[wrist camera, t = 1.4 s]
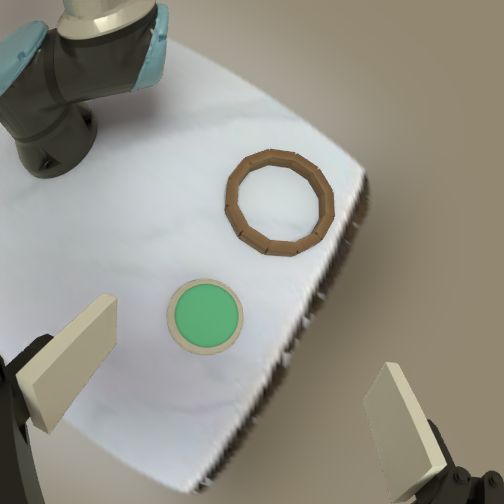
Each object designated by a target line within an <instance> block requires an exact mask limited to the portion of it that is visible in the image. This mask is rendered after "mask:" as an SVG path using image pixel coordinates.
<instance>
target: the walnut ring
mask: <svg viewBox="0 0 504 504" xmlns="http://www.w3.org/2000/svg"><path fill="white" fill-rule="evenodd" d="M267 165H272V166H279V167H287V168H290V169H292V170H293V171H295V172H297V173H298V174H300V175H301V176H303V177H304V178H306V179H307V180H308V181H309V183H310V185H311V186H312V188H313V190H314V191H315V193H316V195H317V196H318V198H319V221H318V222H317V224H316V226H315V228H314V229H313V231H312V233H311V234H310V235H308V236H306V237H304V238H302V239H300V240H298V241H296V242H288V241H276V240H270V239H268V238H267V237H265V236H264V235H262V234H261V233H259V232H258V231H256V230H255V229H253V228H252V227H250V226H249V225H248V223H247V221H246V219H245V217H244V216H243V214H242V212H241V210H240V208H239V206H238V204H237V201H238V186H239V185H240V183H241V182H242V181H243V179H244V178H245V177H246V176H247V174H248V173H249V172H251V171H254V170H256V169H259V168H262V167H264V166H267ZM317 169H318V167H317V166H316V165H314V164H313V163H311V162H310V161H308V160H307V159H305V158H304V157H302V156H301V155H299V154H298V153H297V154H296V155H295V152H289V151H282V150H275V149H270V151H269V149H267V150H264V151H261V152H258V153H256V154H253V155H250V156H247V157H245V158H244V159H243V160H242V161H241V163H240V164H239V165H238V166H237V168H236V169H235V170H234V171H233V173H232V174H231V175H230V176H229V179H228V182H227V188H226V201H225V211H226V212H225V214H226V215H227V217H228V219H229V221H230V223H231V225H232V227H233V229H234V231H235V233H236V235H237V237H239V236H240V237H239V239H241V240H242V241H244V242H245V243H247V244H248V245H250V246H251V247H253V248H254V249H256V250H257V251H259V252H260V253H262V254H263V253H264V252H265V255H275V256H289V257H292V256H295V255H297V254H299V253H301V252H303V251H305V250H307V249H309V248H310V247H312V246H314V245H316V244H318V243H319V242H320V241H322V240H323V238H324V237H325V235H326V233H327V231H328V229H329V227H330V226H331V224H332V222H333V220H334V217H335V209H334V193H333V192H332V191H333V190H332V188H331V186H330V185H329V183H328V181H327V180H326V178H325V176H324V175H323V173H322V172H321V170H320V169H318V170H317Z"/></svg>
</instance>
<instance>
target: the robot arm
mask: <svg viewBox="0 0 504 504" xmlns="http://www.w3.org/2000/svg"><path fill="white" fill-rule="evenodd" d="M63 4H64V7H65V11H64V12H63V14H62V15H61V17H60V19H59V20H58V22H57V28H55V29H52V30H48V25H46V24H45V23H44V22H43V21H33V22H30V23H27V24H25V25H23V26H22V27H20V28H18V29H17V30H15V31H13V32H12V33H11V34H9V35H8V36H7V37H6V38H5V39H3V40H2V41H1V42H0V122H1V124H2V125H3V126H4V127H5V128H6V130H7V131H8V132H9V133H10V134H11V135H12V137H13V138H14V139H15V143H16V147H17V150H18V154H19V157H20V160H21V162H22V164H23V166H24V167H25V168H26V169H27V170H28V171H29V172H30V173H31V174H32V175H34V176H36V177H39V178H52V177H56V176H59V175H61V174H64V173H65V172H67V171H69V170H70V169H72V168H73V167H74V166H76V165H77V164H78V163H79V162H80V161H81V160H82V159H83V158H84V157H85V155H86V154H87V153H88V151H89V150H90V148H91V146H92V144H93V142H94V140H95V137H96V132H97V124H96V120H95V117H94V115H93V113H92V111H91V109H90V108H89V106H88V105H87V104H85V103H84V102H83V101H86V100H90V99H95V98H99V97H104V96H109V95H114V94H119V93H125V92H133V91H134V90H137V89H141V88H146V87H150V86H153V85H155V84H156V83H158V82H159V81H160V79H161V77H162V75H163V70H164V64H165V55H166V44H167V42H166V38H167V31H168V7H167V5H165V4H159V3H157V4H156V0H63ZM116 320H117V297H114V296H111V295H108V294H105V293H103V294H102V295H101V296H100V297H98V298H97V299H96V300H95V301H94V302H93V303H91V304H90V305H89V306H88V307H87V308H86V309H85V310H84V311H82V312H81V313H80V314H79V315H78V316H77V317H76V318H75V319H74V320H72V321H71V322H70V323H69V324H68V325H67V326H66V327H65V328H64V329H63V330H62V331H60V332H59V333H58V334H57V335H56V336H55V337H53V336H51V335H49V334H45V335H43V336H40V337H38V338H36V339H35V340H34V341H33V342H32V343H31V344H30V345H29V346H27V347H26V348H25V349H24V351H22V352H21V353H20V354H19V355H17V356H16V357H15V358H14V359H13V360H12V361H11V362H10V363H9V364H8V365H7V366H6V367H5V364H4V360H3V358H2V357H1V356H0V504H45V502H44V498H43V495H42V492H41V488H40V485H39V481H38V477H37V473H36V469H35V465H34V461H33V456H32V451H31V446H30V441H29V435H28V429H27V425H26V421H27V420H28V418H29V417H31V420H32V422H33V425H34V426H35V427H37V428H39V429H41V430H42V431H44V432H46V433H47V434H50V433H51V432H52V430H53V429H54V427H55V426H56V424H57V423H58V422H59V420H60V419H61V417H62V416H63V415H64V413H65V412H66V410H67V409H68V408H69V406H70V405H71V403H72V402H73V401H74V399H75V398H76V397H77V395H78V394H79V393H80V391H81V390H82V388H83V387H84V386H85V384H86V383H87V382H88V380H89V379H90V378H91V376H92V375H93V374H94V372H95V371H96V370H97V368H98V367H99V366H100V364H101V363H102V362H103V361H104V359H105V358H106V357H107V355H108V354H109V353H110V351H111V350H112V349H113V348H114V346H115V345H116ZM363 405H364V408H365V411H366V415H367V418H368V421H369V424H370V428H371V431H372V434H373V438H374V441H375V445H376V448H377V451H378V455H379V459H380V462H381V466H382V469H383V473H384V477H385V480H386V484H387V488H388V492H389V496H390V500H391V503H398V502H405V501H407V500H408V499H410V498H411V497H412V496H413V495H414V494H415V496H416V499H417V500H415V501H414V502H413V503H411V504H504V482H503V479H502V477H501V476H500V474H499V473H497V472H495V471H488V472H486V473H485V475H483V476H482V477H481V478H479V477H471V475H470V474H469V472H468V471H467V470H465V469H464V468H462V467H458V466H457V467H456V466H455V464H454V462H453V460H452V458H451V456H450V453H449V451H448V449H447V447H446V445H445V444H444V441H443V439H442V437H441V434H440V432H439V430H438V428H437V427H436V426H435V425H434V423H432V421H431V420H426V418H425V416H424V413H423V412H422V409H421V407H420V405H419V404H418V402H417V400H416V397H415V395H414V394H413V392H412V390H411V388H410V386H409V384H408V382H407V380H406V378H405V377H404V374H403V372H402V371H401V369H400V367H399V365H398V364H397V363H391V362H385V363H384V365H383V367H382V369H381V370H380V372H379V374H378V376H377V377H376V379H375V381H374V383H373V384H372V386H371V388H370V389H369V391H368V393H367V394H366V396H365V397H364V399H363Z"/></svg>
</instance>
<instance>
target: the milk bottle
mask: <svg viewBox="0 0 504 504" xmlns="http://www.w3.org/2000/svg"><path fill="white" fill-rule="evenodd" d="M167 324H168V328H169V331H170V333H171V335H172V337H173V338H174V339H175V341H176V342H177V343H178V344H179V345H180V346H181V347H183V348H184V349H186V350H187V351H189V352H192V353H195V354H199V355H212V354H216V353H219V352H222V351H224V350H225V349H227V348H228V347H230V346H231V345H232V344H233V343H234V342H235V340H236V339H237V338H238V336H239V334H240V332H241V329H242V325H243V310H242V306H241V303H240V301H239V299H238V297H237V296H236V294H235V293H234V292H233V291H232V290H231V289H230V288H229V287H227V286H226V285H224V284H223V283H221V282H218V281H215V280H211V279H198V280H194V281H191V282H188V283H186V284H185V285H183V286H182V287H180V288H179V289H178V290H177V291H176V292H175V294H174V295H173V296H172V298H171V300H170V302H169V305H168V309H167Z"/></svg>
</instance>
